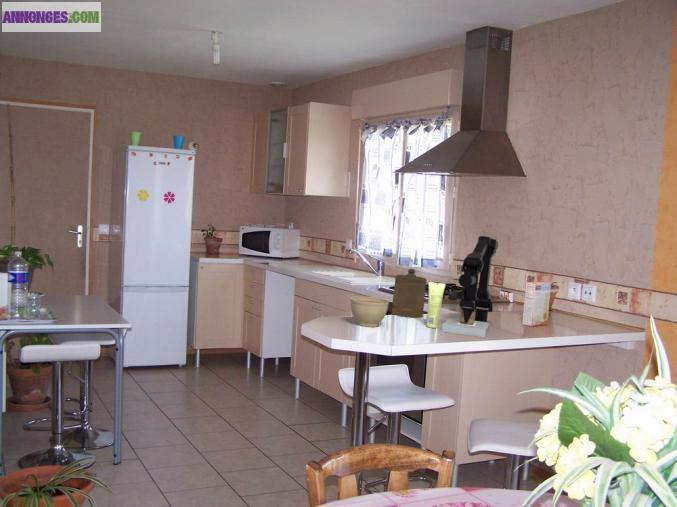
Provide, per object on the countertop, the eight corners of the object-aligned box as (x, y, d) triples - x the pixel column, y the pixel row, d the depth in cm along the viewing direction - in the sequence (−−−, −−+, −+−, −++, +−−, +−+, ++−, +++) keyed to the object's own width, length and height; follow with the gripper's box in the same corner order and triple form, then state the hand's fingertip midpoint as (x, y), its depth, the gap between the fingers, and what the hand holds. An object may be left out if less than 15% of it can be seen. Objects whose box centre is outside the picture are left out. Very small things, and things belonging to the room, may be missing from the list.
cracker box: (536, 323, 348) (541, 280, 346) (547, 325, 344) (552, 282, 342) (520, 324, 338) (525, 281, 337) (531, 327, 334) (536, 283, 332)
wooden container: (415, 312, 345) (420, 268, 343) (427, 318, 331) (432, 271, 329) (387, 311, 341) (391, 266, 339) (397, 317, 327) (402, 269, 325)
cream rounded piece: (460, 328, 311) (462, 310, 310) (473, 330, 309) (475, 312, 309) (458, 330, 305) (460, 312, 305) (472, 332, 304) (474, 314, 303)
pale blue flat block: (448, 323, 320) (449, 317, 320) (489, 329, 316) (489, 322, 315) (441, 331, 299) (442, 324, 299) (484, 337, 294) (485, 330, 294)
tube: (431, 325, 311) (436, 281, 310) (441, 327, 308) (445, 283, 306) (423, 326, 307) (428, 282, 306) (433, 328, 304) (438, 283, 302)
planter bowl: (343, 320, 304) (346, 295, 303) (379, 322, 308) (382, 297, 307) (354, 328, 288) (356, 301, 287) (391, 329, 292) (394, 303, 291)
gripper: (454, 281, 317) (451, 316, 318) (449, 285, 299) (445, 321, 300) (480, 284, 314) (476, 319, 315) (476, 288, 296) (472, 325, 297)
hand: (467, 321), depth 307 cm, fingers open, 9 cm apart
